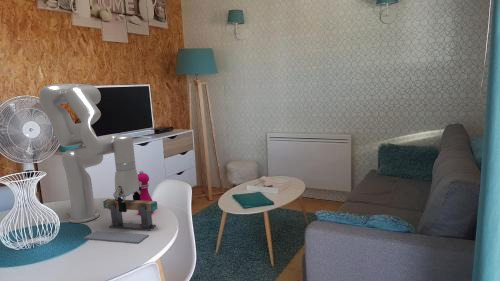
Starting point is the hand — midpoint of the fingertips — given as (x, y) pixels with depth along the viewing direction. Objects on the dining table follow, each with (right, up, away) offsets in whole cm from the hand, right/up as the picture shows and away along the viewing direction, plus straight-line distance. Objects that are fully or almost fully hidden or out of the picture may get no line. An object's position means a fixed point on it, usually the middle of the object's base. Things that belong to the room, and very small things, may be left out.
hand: (130, 207), depth 155 cm
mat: (-3, -10, -9) cm, 13 cm away
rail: (0, 0, 0) cm, 0 cm away
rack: (+1, -8, +1) cm, 8 cm away
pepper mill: (+2, -6, +18) cm, 19 cm away
